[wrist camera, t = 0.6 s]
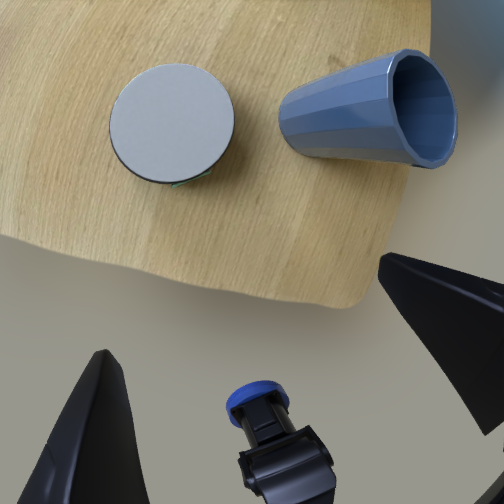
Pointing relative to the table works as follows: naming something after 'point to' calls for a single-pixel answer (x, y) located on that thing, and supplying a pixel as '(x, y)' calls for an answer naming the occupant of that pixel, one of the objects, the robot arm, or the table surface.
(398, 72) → the tumbler
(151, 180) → the kitchen scale
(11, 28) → the table surface
